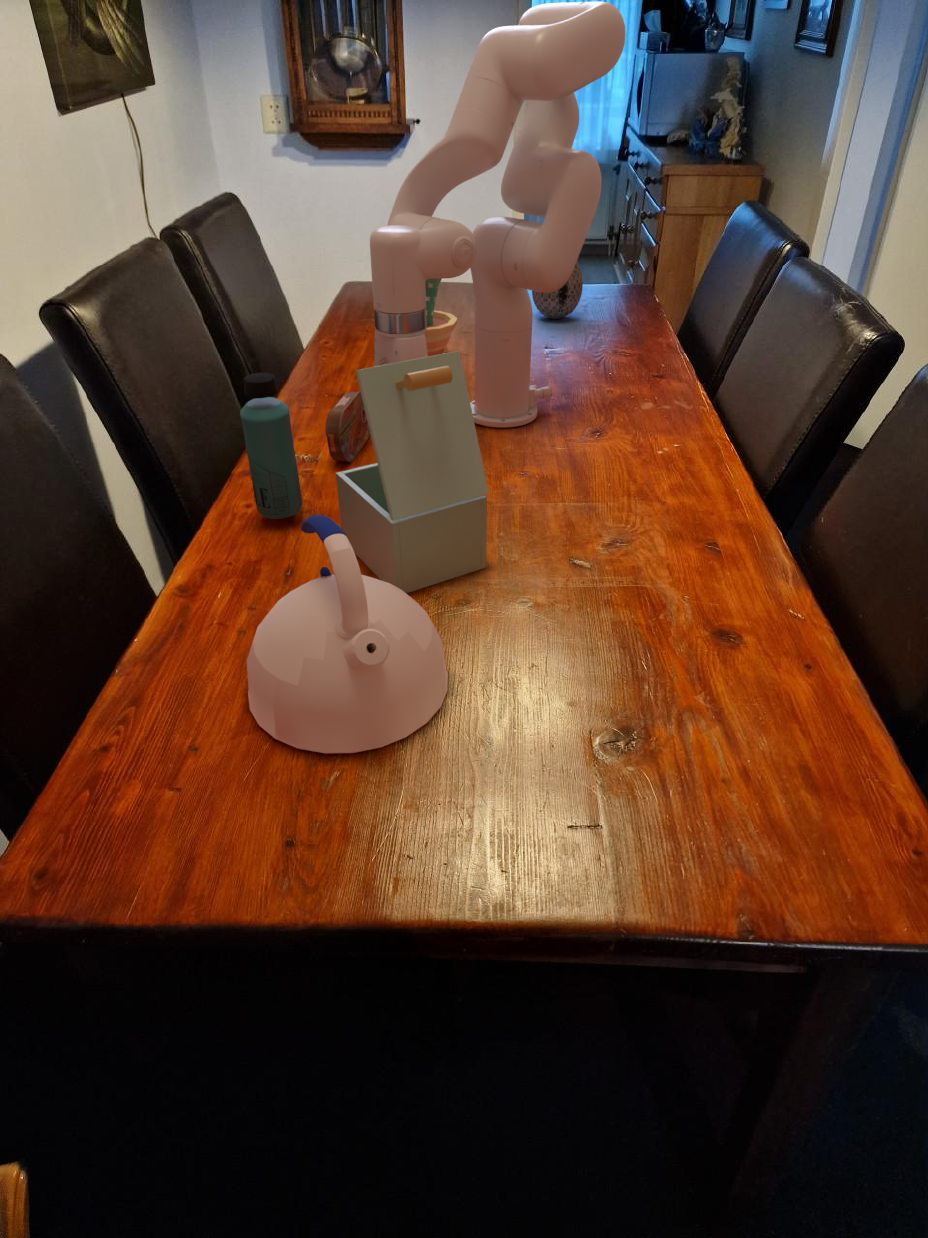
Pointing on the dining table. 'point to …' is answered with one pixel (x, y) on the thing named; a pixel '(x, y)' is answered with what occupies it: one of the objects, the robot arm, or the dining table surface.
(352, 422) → the tin
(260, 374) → the beverage bottle
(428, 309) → the potted cactus
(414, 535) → the chest
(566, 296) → the decorative egg
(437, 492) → the lid
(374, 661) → the kettle
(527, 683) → the dining table surface
